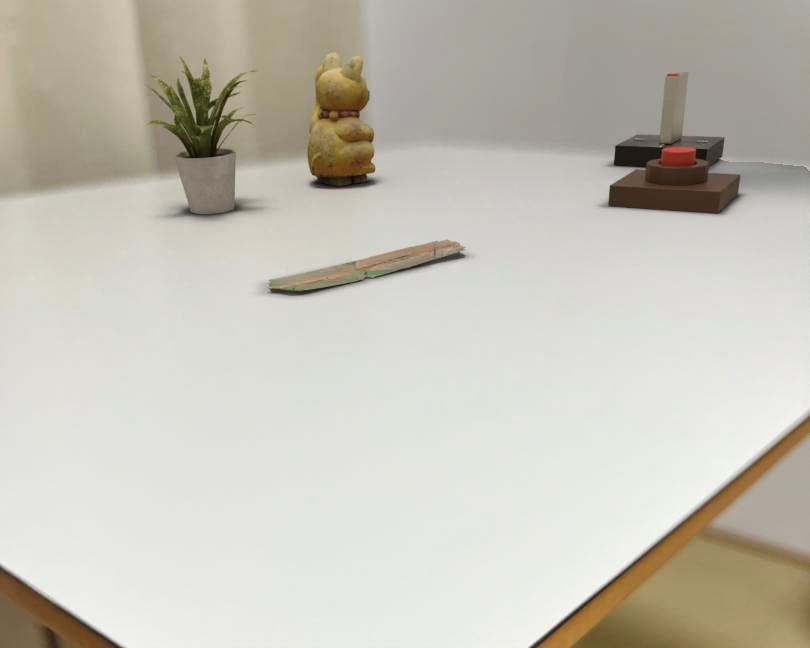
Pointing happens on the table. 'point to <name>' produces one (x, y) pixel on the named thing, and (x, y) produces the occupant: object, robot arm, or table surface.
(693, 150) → the power button
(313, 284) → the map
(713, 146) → the dial panel
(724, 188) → the switch block
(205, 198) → the house plant
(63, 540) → the table surface
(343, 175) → the decorative figurine
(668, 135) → the white upright block
